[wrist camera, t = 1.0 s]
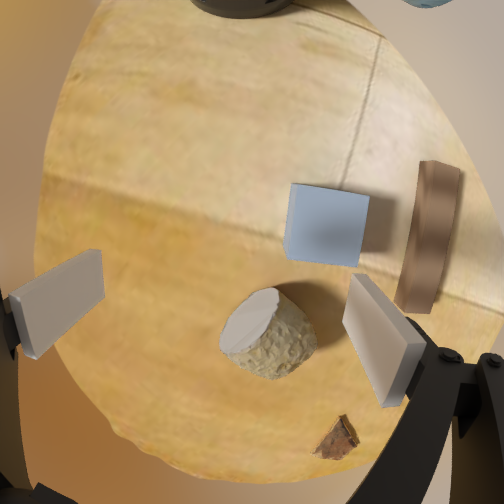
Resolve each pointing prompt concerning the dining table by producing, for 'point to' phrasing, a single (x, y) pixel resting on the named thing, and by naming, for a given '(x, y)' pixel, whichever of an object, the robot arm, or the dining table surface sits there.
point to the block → (325, 225)
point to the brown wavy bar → (428, 237)
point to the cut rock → (268, 335)
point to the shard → (335, 442)
